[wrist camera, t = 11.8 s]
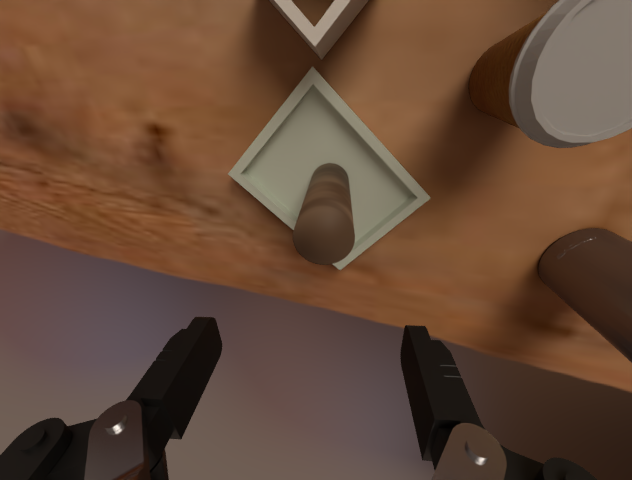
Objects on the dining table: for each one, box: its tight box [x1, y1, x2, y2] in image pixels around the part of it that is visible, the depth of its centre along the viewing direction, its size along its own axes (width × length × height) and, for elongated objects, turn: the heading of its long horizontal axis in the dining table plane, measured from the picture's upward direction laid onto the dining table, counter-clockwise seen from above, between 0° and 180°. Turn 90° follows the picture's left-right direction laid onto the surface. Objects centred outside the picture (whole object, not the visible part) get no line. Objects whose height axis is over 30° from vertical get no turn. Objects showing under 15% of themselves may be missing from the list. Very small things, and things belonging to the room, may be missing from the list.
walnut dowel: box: [293, 163, 355, 265], centre depth 25 cm, size 4×4×14 cm
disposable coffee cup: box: [469, 0, 632, 148], centre depth 21 cm, size 10×10×12 cm
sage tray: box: [228, 66, 430, 270], centre depth 31 cm, size 18×14×2 cm
